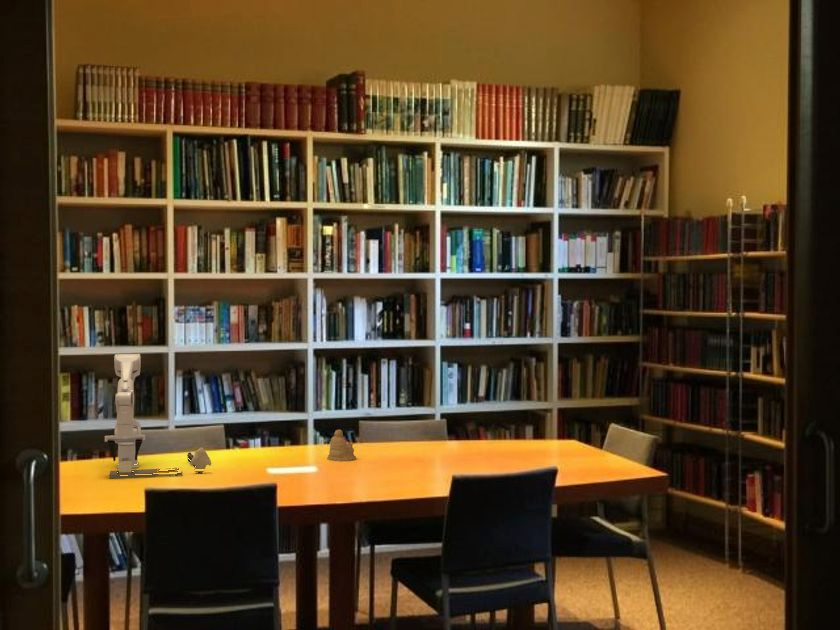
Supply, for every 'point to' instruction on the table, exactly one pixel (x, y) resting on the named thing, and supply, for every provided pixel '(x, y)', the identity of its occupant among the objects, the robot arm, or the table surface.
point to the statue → (340, 448)
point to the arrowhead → (200, 459)
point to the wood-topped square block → (125, 465)
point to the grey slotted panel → (143, 471)
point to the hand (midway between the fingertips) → (125, 460)
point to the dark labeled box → (190, 456)
